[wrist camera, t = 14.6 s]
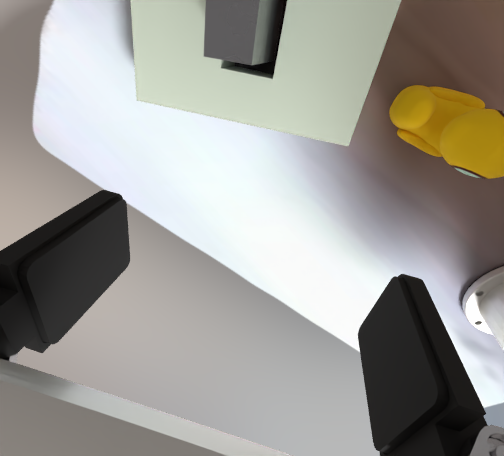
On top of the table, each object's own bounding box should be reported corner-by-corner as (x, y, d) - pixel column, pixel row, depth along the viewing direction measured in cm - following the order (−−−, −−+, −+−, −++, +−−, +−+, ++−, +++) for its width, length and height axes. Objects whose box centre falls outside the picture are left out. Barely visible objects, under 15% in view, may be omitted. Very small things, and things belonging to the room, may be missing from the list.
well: (433, -133, 19) (468, -186, 15) (342, 133, 29) (348, 146, 25) (156, -176, 20) (115, -236, 16) (160, 93, 30) (136, 100, 26)
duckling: (512, 119, 26) (609, 150, 17) (465, 169, 28) (529, 216, 20) (405, 64, 25) (453, 68, 16) (368, 121, 28) (393, 149, 19)
